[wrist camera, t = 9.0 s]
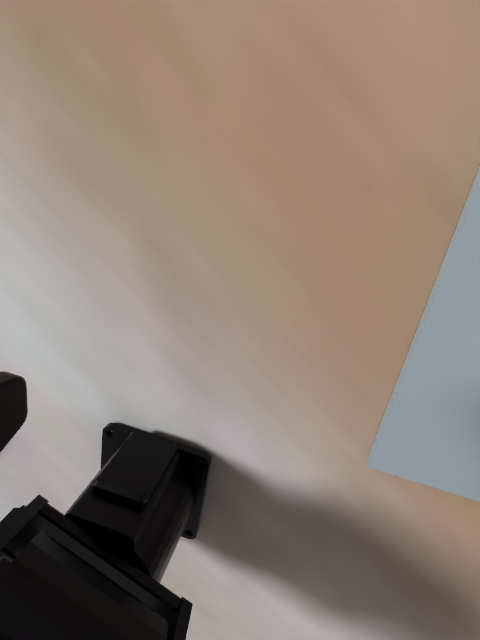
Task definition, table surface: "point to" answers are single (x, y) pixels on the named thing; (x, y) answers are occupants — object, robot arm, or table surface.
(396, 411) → the board
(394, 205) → the table surface
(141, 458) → the robot arm
